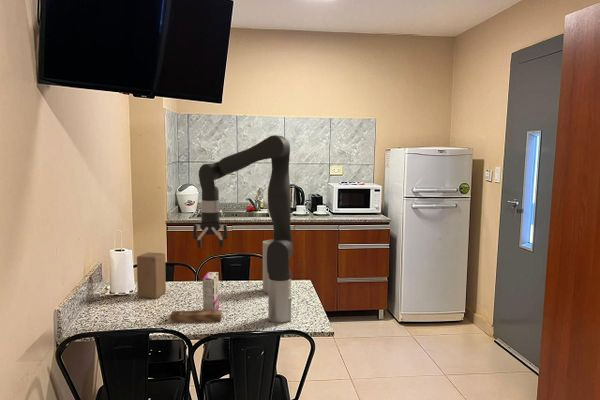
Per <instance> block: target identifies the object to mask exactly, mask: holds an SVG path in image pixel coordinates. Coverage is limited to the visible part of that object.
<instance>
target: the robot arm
mask: <svg viewBox="0 0 600 400" xmlns="http://www.w3.org/2000/svg"><path fill="white" fill-rule="evenodd" d="M290 156H291V145H290V142H289V140H288V138H286V137H285V136H284V135H276V134H274V135H270V136H269V137H266V138H265V139H263V140H262V141H259V142H258V143H257V144H255V145H253V146H250V147H249V148H246V149H244V150H241V151H238V152H236V153H235V152H234V153H233V154H230V155H228V156H225V157H223V158H221V159H220V160H219V161H217V162H214V163H204V164H202V165H201V166H199V169H198V181H199V184H200V185H199V186H200V189H201V205H200V206H201V208H200V209H201V212H200V213H201V214H200V217H201V219H200V221H201V222H200V224H197V223H195V224H194V225H193V233H192V238H193V239H194V240H197V248H198V249H199V250H200V249H202V237H203V236H204V235H206V236H207V235H212V236H213V235H214V236H215V235H216V236H217V238H218V239H219V250H221V249H222V248H223V247H224V240H226V239H227V238H228V225H227V224H226V223H224V224H221V223H220V200H219V199H220V196H219V195H220V194H219V192H220V191H219V188H218V186H216V184H215V181H216V180H218V179H219V180H220V179H221V178H223V177H225V176H227V175H230V174H232V173H235V172H237V171H241V170H243V169H245V168H247V167H248V166H250V165H252V164H254V163H258V162H259V161H264V160H269V159H271V175H270V178H269V182H268V187H267V208H268V209H267V210H268V213H269V216H270V219H271V222H272V228H273V237H272V238H273V239H272V240H273V242H272V243H271V244H270V245H269V246H268V248H267V272H268V275H269V293H268V294H267V295H268V301H267V303H268V305H267V306H268V307H267V308H268V309H267V310H268V312H267V313H268V314H267V317H268V318H267V319H268V321H270V322H272V323H278V324H279V323H281V324H283V323H287V322H292V295H291V294H292V272H291V270H290V266H289V265H290V258H291V257H292V255H293V253H294V245H293V244H294V243H293V237H292V230H291V219H292V218H291V214H292V213H291V212H292V211H291V186H290V185H291V183H290ZM199 229H200V230H202V232H201V233H200V234H199V235H198V230H199ZM220 229H222V230H223V235H222V234H221V232H220V231H219V230H220Z"/></svg>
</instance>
